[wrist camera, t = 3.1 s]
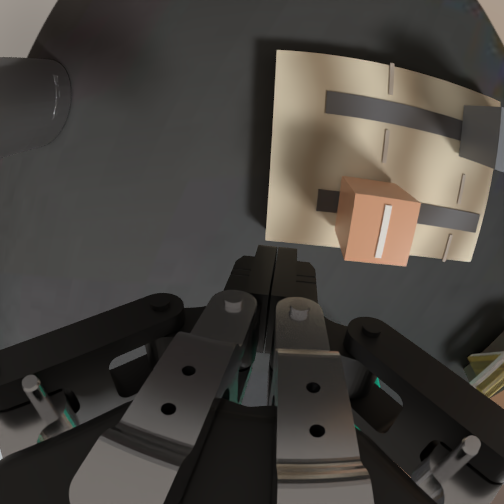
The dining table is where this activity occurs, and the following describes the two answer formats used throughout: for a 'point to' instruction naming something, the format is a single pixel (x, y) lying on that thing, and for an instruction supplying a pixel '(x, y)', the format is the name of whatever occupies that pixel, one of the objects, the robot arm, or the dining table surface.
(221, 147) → the dining table surface
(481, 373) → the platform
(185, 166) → the dining table surface
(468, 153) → the fader
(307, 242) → the panel
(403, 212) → the block
